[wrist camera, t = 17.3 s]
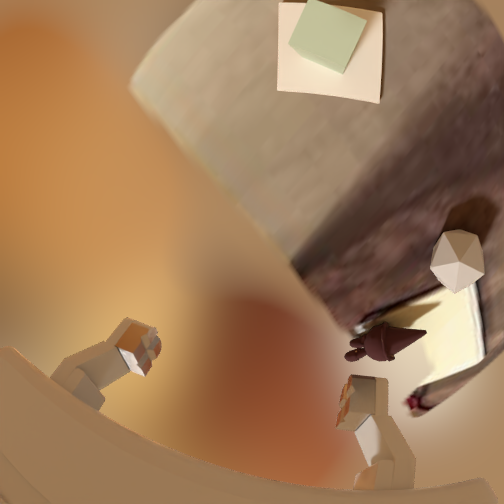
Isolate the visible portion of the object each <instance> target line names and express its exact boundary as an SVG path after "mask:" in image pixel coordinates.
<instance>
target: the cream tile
mask: <svg viewBox="0 0 504 504" xmlns="http://www.w3.org/2000/svg"><path fill="white" fill-rule="evenodd" d="M305 5H306V3H279V35H278V82H277V91H291V92H303V93H314V94H323V95H331V96H338V97H345V98H351V99H357V100H363V101H368V102H374V103H379V100H380V87H381V71H382V41H383V22H382V13H381V12H376V11H371V10H365V9H359V8H352V7H345V6H337V5H331V6H334V7H336V8H339V9H341V10H344V11H346V12H349V13H351V14H353V15H356V16H358V17H360V18H362V19H364V20H366V21H367V22H366V25H365V27H364V29H363V32H362V34H361V36H360V39H359V41H358V43H357V45H356V47H355V50H354V52H353V54H352V56H351V58H350V60H349V62H348V64H347V67H346V69H345V71H344V73H343V75H342V74H340V73H338V72H335V71H333V70H331V69H329V68H327V67H324V66H322V65H320V64H317V63H315V62H313V61H310V60H308V59H305V58H303V57H301V56H300V55H299V54H298V53H297V52H296V51H295V50H294V49H293V48H292V47H291V46H290V45H289V44H288V42H289V40H290V38H291V36H292V33H293V31H294V29H295V27H296V25H297V22H298V20H299V18H300V16H301V14H302V12H303V9H304V7H305Z"/></svg>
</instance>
